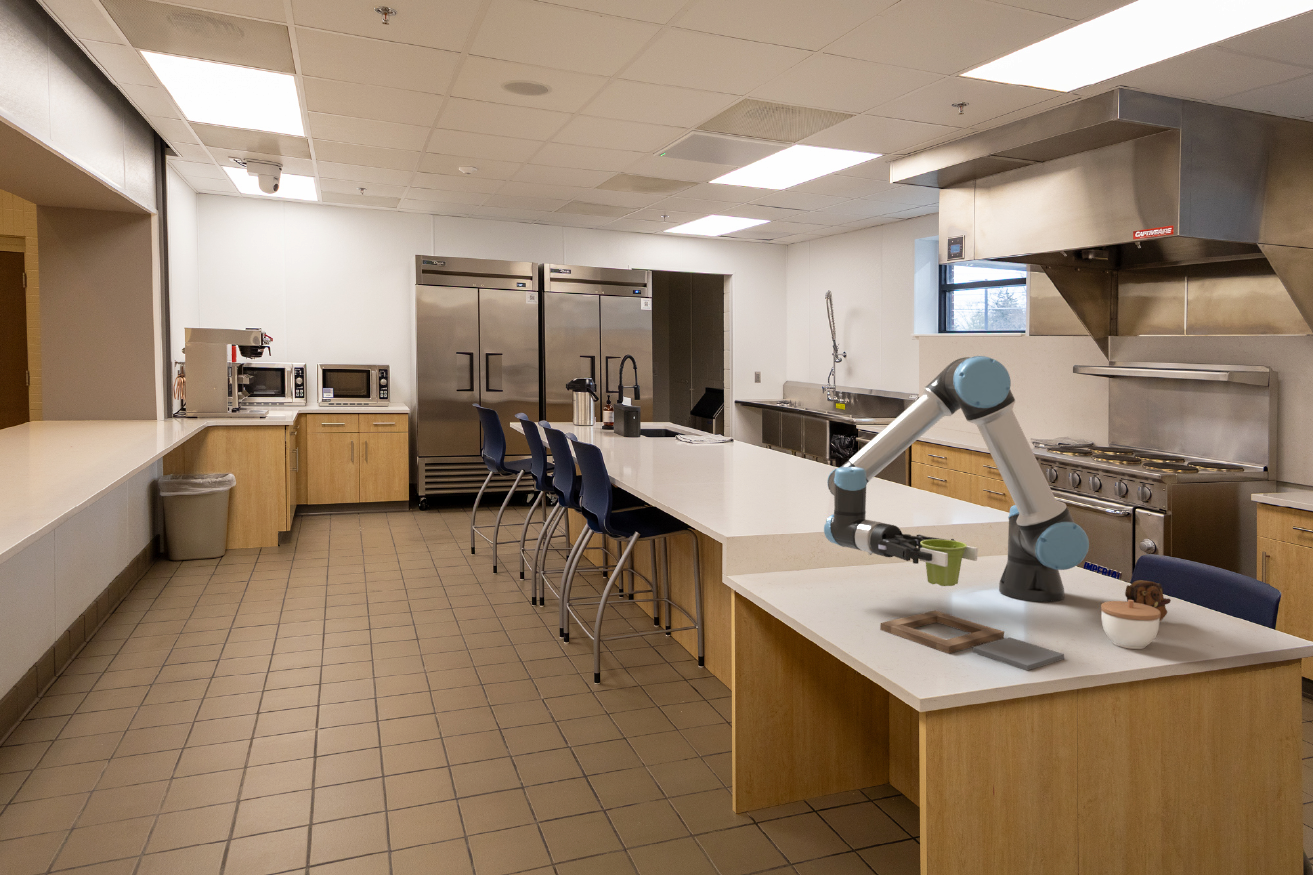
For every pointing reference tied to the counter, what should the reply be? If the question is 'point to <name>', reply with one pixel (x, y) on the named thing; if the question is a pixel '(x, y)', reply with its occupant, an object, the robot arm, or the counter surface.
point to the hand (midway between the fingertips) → (961, 557)
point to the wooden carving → (1148, 595)
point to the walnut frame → (905, 630)
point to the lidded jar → (1130, 623)
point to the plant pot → (952, 570)
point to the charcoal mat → (1018, 653)
